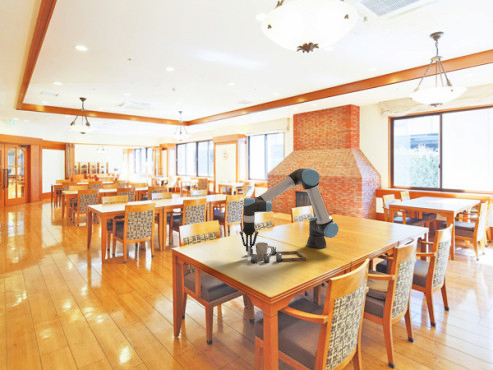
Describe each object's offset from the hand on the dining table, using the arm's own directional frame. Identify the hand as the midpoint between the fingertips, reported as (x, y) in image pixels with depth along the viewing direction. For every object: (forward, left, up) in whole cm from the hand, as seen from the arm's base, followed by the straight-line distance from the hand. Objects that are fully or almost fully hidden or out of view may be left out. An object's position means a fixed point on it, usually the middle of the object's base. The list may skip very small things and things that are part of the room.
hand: (248, 256), depth 184 cm
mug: (-11, 0, -2) cm, 11 cm away
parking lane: (-28, 0, -2) cm, 28 cm away
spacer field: (-11, 0, -2) cm, 11 cm away
